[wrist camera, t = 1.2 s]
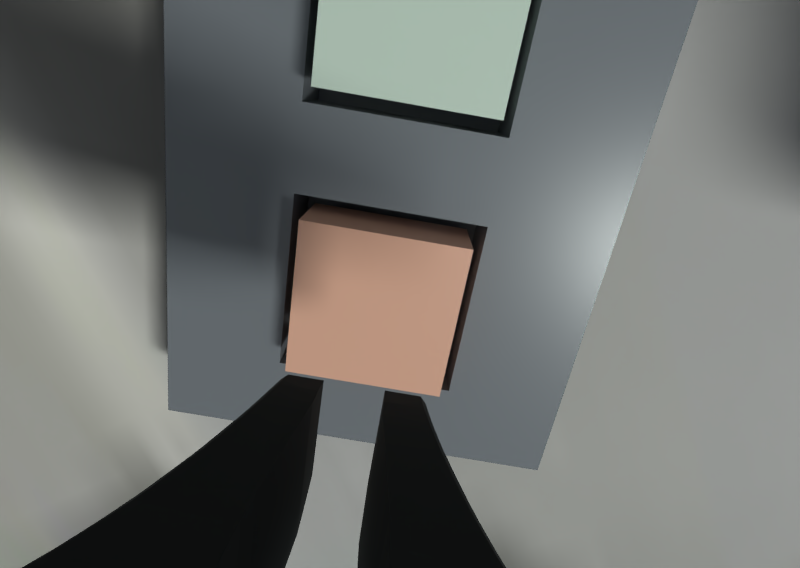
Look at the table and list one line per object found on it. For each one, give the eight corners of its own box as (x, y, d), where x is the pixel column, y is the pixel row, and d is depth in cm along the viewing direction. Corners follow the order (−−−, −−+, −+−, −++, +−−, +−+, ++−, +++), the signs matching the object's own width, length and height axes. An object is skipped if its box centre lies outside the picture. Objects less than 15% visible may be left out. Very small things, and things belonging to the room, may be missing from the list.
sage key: (535, -82, 11) (557, -117, 9) (491, 116, 13) (503, 120, 11) (347, -116, 11) (333, -159, 9) (327, 87, 13) (310, 86, 11)
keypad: (867, -681, 9) (1022, -952, 7) (522, 421, 18) (537, 469, 16) (222, -819, 9) (150, -1148, 6) (201, 368, 18) (168, 409, 16)
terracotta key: (466, 229, 14) (473, 249, 12) (437, 360, 16) (439, 396, 14) (315, 203, 14) (299, 219, 12) (301, 337, 16) (284, 371, 14)
